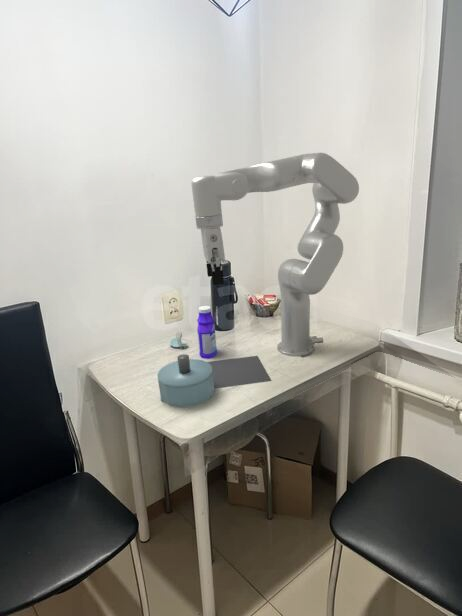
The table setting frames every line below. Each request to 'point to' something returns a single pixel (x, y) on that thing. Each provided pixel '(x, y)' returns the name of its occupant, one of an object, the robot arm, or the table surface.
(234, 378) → the mat
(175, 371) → the squat blue cylinder
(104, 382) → the table surface
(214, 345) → the bottle
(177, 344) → the pacifier
